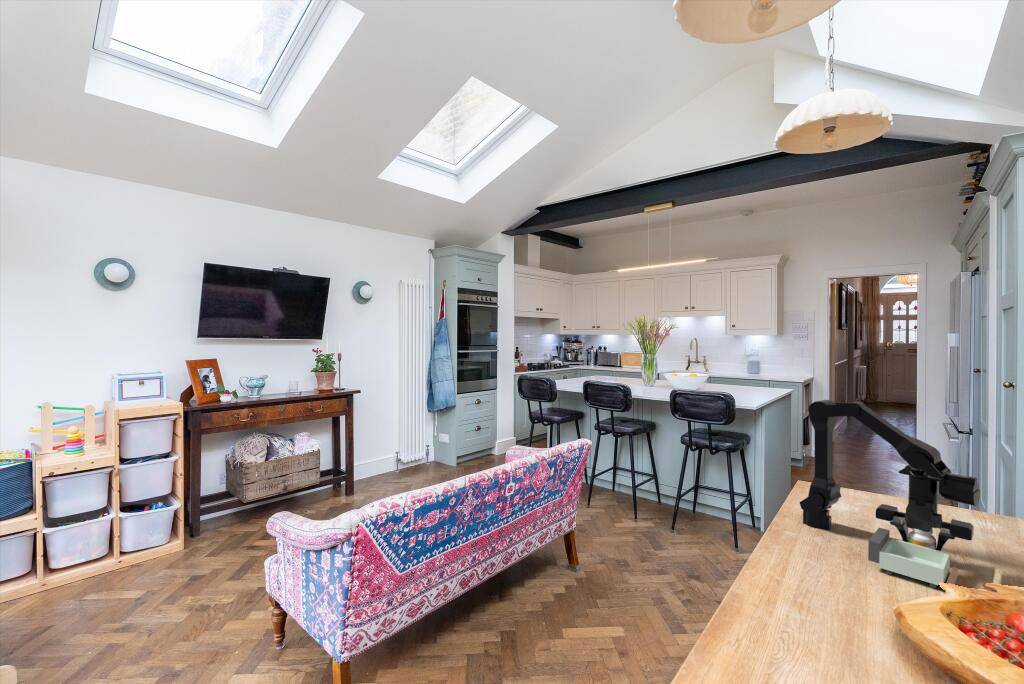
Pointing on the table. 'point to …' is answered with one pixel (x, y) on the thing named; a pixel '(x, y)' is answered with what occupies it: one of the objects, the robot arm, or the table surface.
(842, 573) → the table surface
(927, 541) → the supplement bottle
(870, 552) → the pale green bin
